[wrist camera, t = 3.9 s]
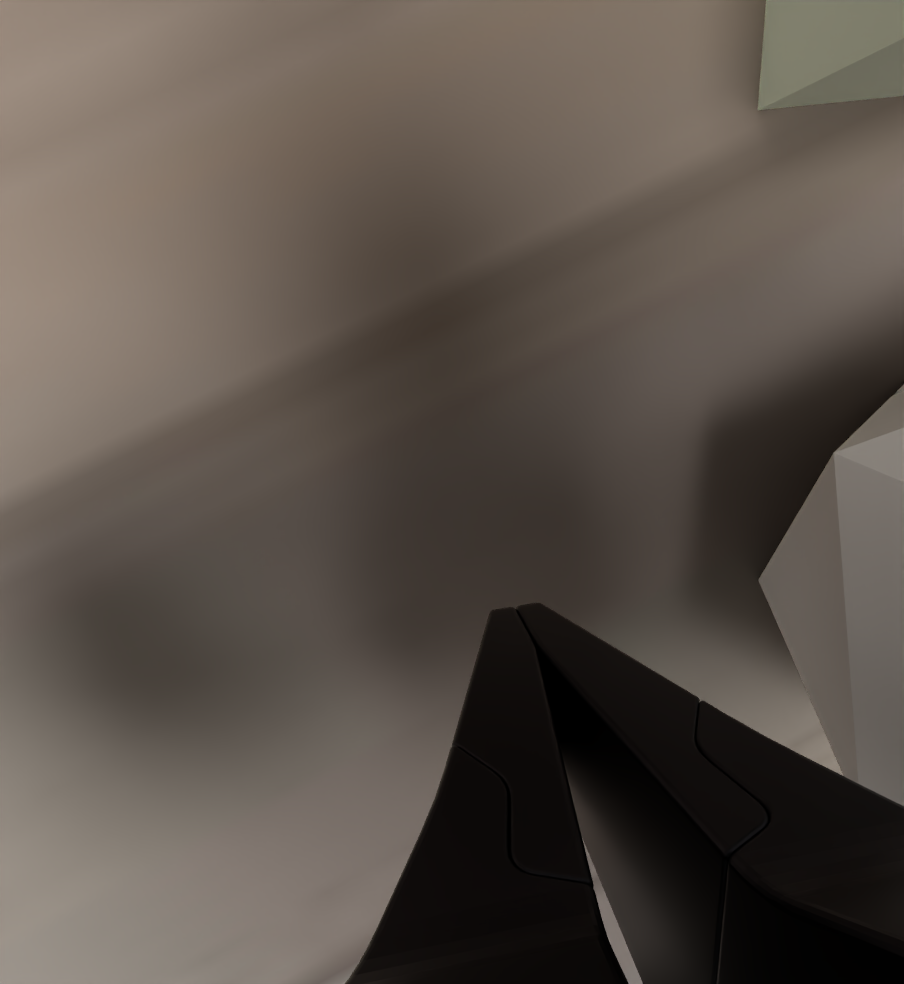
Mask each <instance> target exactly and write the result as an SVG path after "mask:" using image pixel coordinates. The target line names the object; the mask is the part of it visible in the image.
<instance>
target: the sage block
mask: <svg viewBox="0 0 904 984" xmlns="http://www.w3.org/2000/svg"><path fill="white" fill-rule="evenodd" d="M899 96H904V0H766V9H765V22H764V35H763V47H762V60H761V73H760V86H759V99H758V110H767V109H777V108H787V107H798V106H808V105H818V104H828V103H838V102H848V101H858V100H868V99H878V98H889V97H899Z"/></svg>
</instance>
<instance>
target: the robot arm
mask: <svg viewBox="0 0 904 984" xmlns="http://www.w3.org/2000/svg"><path fill="white" fill-rule="evenodd" d="M581 835H582V836H581ZM582 838H583V840H584V843H585V845H586V847H587V850H588V852H589V855H590V857H591V859H592V862H593V864H594V867H595V869H596V871H597V874H598V876H599V879H600V881H601V883H602V886H603V888H604V891H605V893H606V896H607V898H608V900H609V903H610V905H611V908H612V910H613V912H614V915H615V917H616V920H617V922H618V924H619V927H620V929H621V932H622V934H623V936H624V939H625V941H626V944H627V946H628V949H629V951H630V953H631V956H632V958H633V961H634V963H635V965H636V968H637V970H638V973H639V975H640V977H641V980H642V982H643V984H904V806H902V805H900V804H898V803H896V802H894V801H892V800H890V799H888V798H886V797H884V796H882V795H880V794H878V793H876V792H874V791H872V790H870V789H868V788H866V787H864V786H862V785H860V784H858V783H856V782H854V781H852V780H850V779H848V778H846V777H844V776H842V775H840V774H838V773H836V772H834V771H832V770H830V769H828V768H826V767H824V766H822V765H820V764H818V763H816V762H814V761H812V760H810V759H808V758H806V757H804V756H802V755H800V754H798V753H796V752H794V751H793V750H791V749H789V748H787V747H785V746H783V745H781V744H779V743H777V742H775V741H773V740H771V739H769V738H767V737H766V736H764V735H762V734H760V733H758V732H757V731H755V730H753V729H751V728H750V727H748V726H746V725H744V724H743V723H741V722H739V721H737V720H736V719H734V718H732V717H730V716H728V715H727V714H725V713H723V712H722V711H720V710H718V709H717V708H715V707H713V706H712V705H710V704H708V703H707V702H705V701H700V703H699V698H698V697H696V696H695V695H693V694H691V693H690V692H688V691H686V690H685V689H683V688H681V687H680V686H678V685H676V684H675V683H673V682H671V681H670V680H668V679H666V678H665V677H663V676H661V675H660V674H658V673H656V672H655V671H653V670H651V669H650V668H648V667H646V666H645V665H643V664H641V663H640V662H638V661H636V660H635V659H633V658H631V657H630V656H628V655H626V654H625V653H623V652H621V651H620V650H618V649H616V648H615V647H613V646H611V645H610V644H608V643H606V642H605V641H603V640H601V639H600V638H598V637H596V636H595V635H593V634H591V633H590V632H588V631H586V630H585V629H583V628H581V627H580V626H578V625H576V624H575V623H573V622H571V621H570V620H568V619H566V618H565V617H563V616H561V615H560V614H558V613H556V612H555V611H553V610H551V609H550V608H548V607H546V606H545V605H543V604H541V603H531V604H526V605H520V606H518V607H516V609H515V608H513V607H508V608H502V609H496V610H492V611H491V612H490V614H489V617H488V620H487V624H486V627H485V631H484V634H483V638H482V641H481V645H480V648H479V652H478V655H477V659H476V662H475V666H474V669H473V673H472V676H471V680H470V683H469V687H468V690H467V694H466V697H465V701H464V704H463V708H462V711H461V715H460V718H459V722H458V725H457V729H456V732H455V736H454V739H453V743H452V747H451V749H450V752H449V755H448V759H447V762H446V766H445V769H444V772H443V775H442V778H441V781H440V784H439V787H438V790H437V793H436V796H435V799H434V802H433V804H432V806H431V809H430V811H429V814H428V816H427V818H426V821H425V823H424V826H423V828H422V830H421V833H420V835H419V837H418V840H417V842H416V844H415V846H414V848H413V850H412V853H411V855H410V857H409V859H408V861H407V864H406V866H405V868H404V870H403V872H402V875H401V877H400V879H399V881H398V883H397V886H396V888H395V890H394V892H393V894H392V896H391V899H390V901H389V903H388V905H387V907H386V910H385V912H384V914H383V916H382V918H381V921H380V923H379V925H378V927H377V929H376V931H375V933H374V935H373V937H372V940H371V942H370V944H369V946H368V948H367V950H366V951H365V953H364V955H363V957H362V959H361V960H360V962H359V964H358V965H357V967H356V969H355V970H354V972H353V973H352V975H351V976H350V978H349V979H348V980H347V982H346V983H345V984H628V981H627V979H626V977H625V975H624V973H623V971H622V969H621V967H620V964H619V962H618V960H617V958H616V956H615V954H614V952H613V949H612V947H611V945H610V942H609V940H608V937H607V934H606V931H605V927H604V924H603V921H602V917H601V914H600V910H599V906H598V902H597V898H596V894H595V891H594V889H593V881H592V877H591V873H590V869H589V865H588V861H587V856H586V852H585V848H584V844H583V840H582Z"/></svg>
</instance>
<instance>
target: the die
mask: <svg viewBox="0 0 904 984" xmlns="http://www.w3.org/2000/svg"><path fill="white" fill-rule="evenodd" d="M758 581H759V583H760V585H761V587H762V590H763V592H764V594H765V597H766V599H767V601H768V603H769V606H770V608H771V610H772V613H773V615H774V617H775V620H776V622H777V624H778V626H779V629H780V631H781V633H782V636H783V638H784V640H785V642H786V645H787V647H788V649H789V652H790V654H791V656H792V658H793V661H794V663H795V665H796V668H797V670H798V672H799V674H800V677H801V679H802V681H803V684H804V686H805V688H806V691H807V693H808V695H809V697H810V700H811V702H812V704H813V707H814V709H815V711H816V713H817V716H818V718H819V720H820V723H821V725H822V727H823V729H824V732H825V734H826V736H827V739H828V741H829V743H830V745H831V748H832V750H833V752H834V755H835V757H836V759H837V761H838V764H839V766H840V768H841V771H842V773H843V775H844V777H846V778H848V779H850V780H852V781H854V782H856V783H858V784H860V785H862V786H864V787H866V788H868V789H870V790H872V791H874V792H876V793H878V794H880V795H882V796H884V797H886V798H888V799H890V800H892V801H894V802H896V803H898V804H900V805H902V806H904V385H903V386H902V387H901V388H900V389H898V390H897V391H896V393H895V394H894V395H893V396H891V397H890V398H889V399H888V400H887V401H886V402H885V403H884V404H883V405H882V406H881V407H880V408H879V409H878V410H877V411H876V412H875V413H874V414H873V415H872V416H871V417H870V418H869V419H868V420H867V421H866V422H865V423H864V424H863V425H862V426H861V427H860V428H858V429H857V430H856V431H855V432H854V433H853V434H852V435H851V436H850V437H849V438H848V439H847V440H846V441H845V442H844V443H843V444H842V445H841V446H840V447H839V448H838V449H837V450H836V451H835V452H834V453H833V455H832V456H831V458H830V460H829V461H828V463H827V465H826V467H825V468H824V470H823V472H822V473H821V475H820V477H819V478H818V480H817V482H816V483H815V485H814V487H813V488H812V490H811V492H810V494H809V495H808V497H807V499H806V500H805V502H804V504H803V505H802V507H801V509H800V510H799V512H798V514H797V515H796V517H795V519H794V521H793V522H792V524H791V526H790V527H789V529H788V531H787V532H786V534H785V536H784V537H783V539H782V541H781V542H780V544H779V546H778V548H777V549H776V551H775V553H774V554H773V556H772V558H771V559H770V561H769V563H768V564H767V566H766V568H765V569H764V571H763V573H762V575H761V576H760V578H759V580H758Z"/></svg>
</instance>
